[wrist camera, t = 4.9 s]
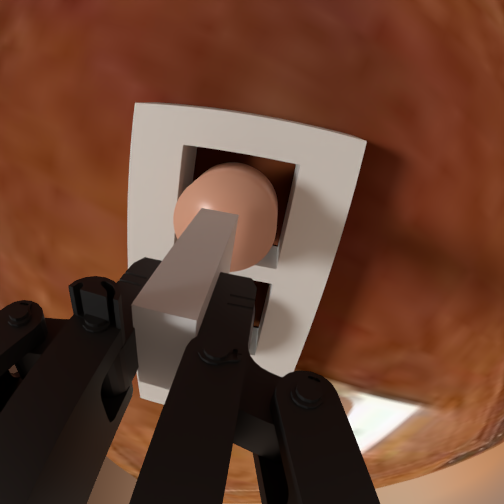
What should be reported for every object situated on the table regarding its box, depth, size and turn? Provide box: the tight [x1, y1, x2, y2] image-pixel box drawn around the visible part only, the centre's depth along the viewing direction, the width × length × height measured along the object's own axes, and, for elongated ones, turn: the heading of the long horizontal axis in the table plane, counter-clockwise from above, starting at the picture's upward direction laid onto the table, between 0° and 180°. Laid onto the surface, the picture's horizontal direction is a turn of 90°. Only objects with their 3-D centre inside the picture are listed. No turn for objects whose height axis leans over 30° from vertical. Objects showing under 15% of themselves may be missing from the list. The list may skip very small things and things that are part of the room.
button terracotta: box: [173, 162, 278, 272], centre depth 16 cm, size 5×5×3 cm
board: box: [128, 102, 367, 404], centre depth 21 cm, size 24×12×3 cm, turn 170°
